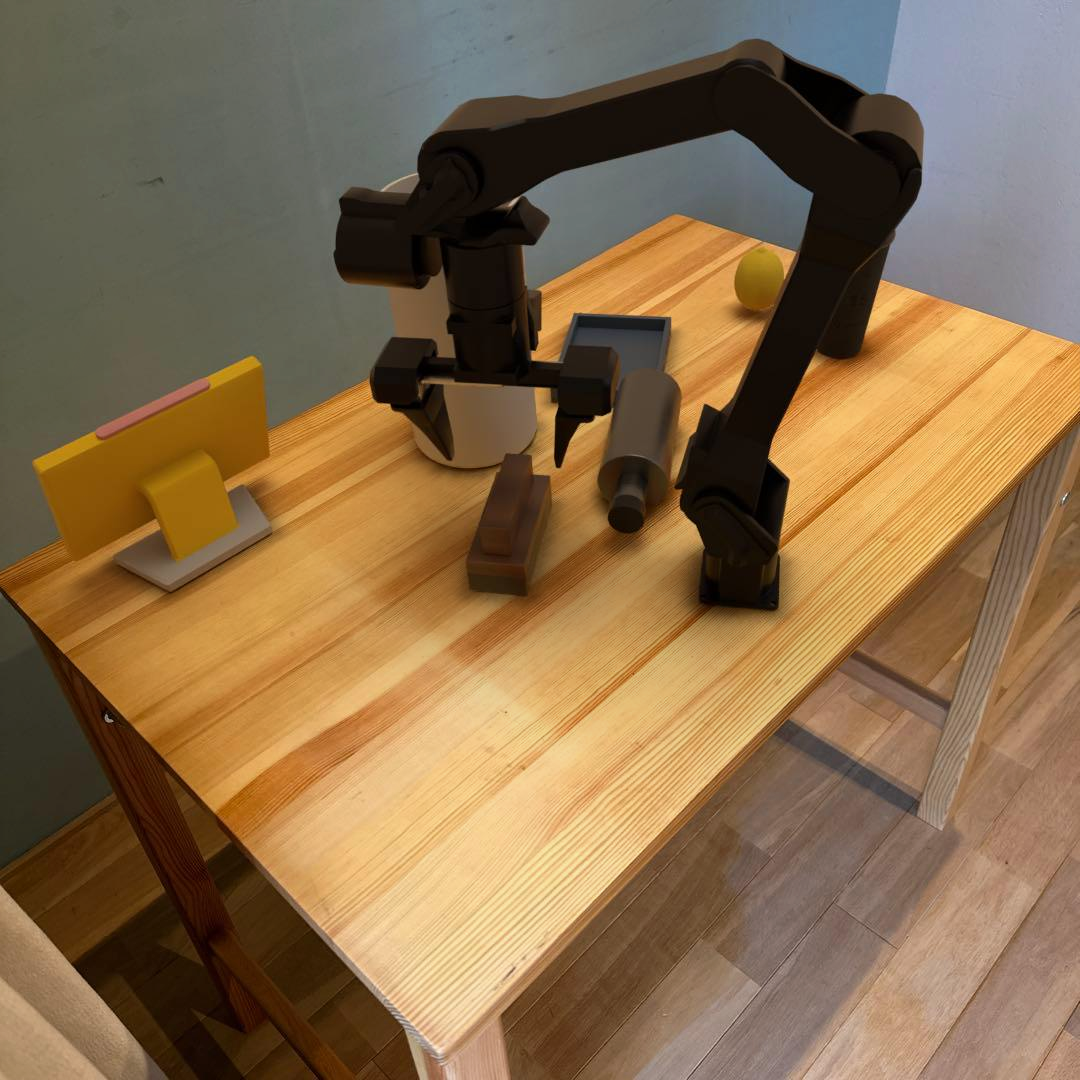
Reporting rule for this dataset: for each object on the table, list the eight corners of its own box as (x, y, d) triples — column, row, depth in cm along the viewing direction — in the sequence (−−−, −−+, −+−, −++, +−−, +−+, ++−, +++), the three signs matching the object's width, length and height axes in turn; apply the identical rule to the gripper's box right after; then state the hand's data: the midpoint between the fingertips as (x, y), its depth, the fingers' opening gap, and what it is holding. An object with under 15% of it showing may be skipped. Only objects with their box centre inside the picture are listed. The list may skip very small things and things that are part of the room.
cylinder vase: (411, 476, 98) (366, 234, 81) (418, 403, 107) (379, 172, 90) (539, 467, 98) (520, 223, 81) (535, 395, 107) (518, 162, 90)
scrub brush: (526, 595, 85) (521, 539, 80) (469, 590, 86) (461, 533, 81) (552, 504, 93) (548, 448, 89) (500, 500, 94) (493, 445, 90)
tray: (657, 408, 104) (657, 392, 102) (551, 402, 106) (550, 386, 104) (671, 332, 115) (671, 316, 113) (574, 327, 117) (573, 312, 115)
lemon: (728, 321, 116) (733, 257, 110) (736, 298, 119) (741, 234, 114) (777, 326, 114) (784, 261, 109) (783, 302, 118) (790, 238, 113)
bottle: (680, 423, 101) (682, 369, 97) (661, 550, 88) (663, 494, 84) (617, 419, 103) (617, 366, 98) (589, 544, 89) (587, 488, 85)
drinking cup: (788, 341, 112) (809, 163, 98) (844, 322, 114) (872, 146, 100) (830, 373, 107) (859, 190, 93) (888, 353, 109) (924, 172, 95)
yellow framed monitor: (269, 474, 99) (226, 335, 89) (315, 508, 95) (275, 366, 84) (80, 579, 90) (7, 436, 79) (121, 622, 85) (49, 477, 75)
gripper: (628, 243, 77) (628, 412, 87) (395, 237, 80) (423, 400, 91) (608, 317, 69) (611, 493, 79) (350, 307, 72) (386, 477, 83)
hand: (504, 461), depth 83 cm, fingers open, 9 cm apart
